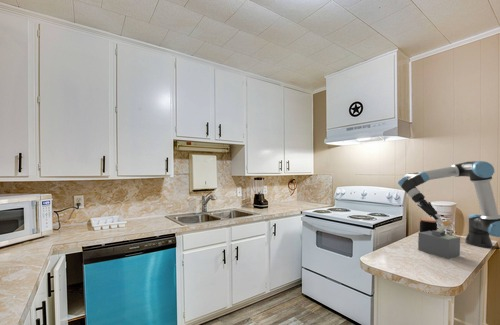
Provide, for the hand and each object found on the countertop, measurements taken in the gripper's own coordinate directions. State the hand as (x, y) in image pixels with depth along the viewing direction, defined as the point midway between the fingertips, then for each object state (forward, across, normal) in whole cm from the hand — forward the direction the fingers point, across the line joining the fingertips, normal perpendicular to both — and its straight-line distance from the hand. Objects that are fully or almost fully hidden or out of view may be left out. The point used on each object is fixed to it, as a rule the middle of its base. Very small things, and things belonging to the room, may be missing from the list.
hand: (441, 223), depth 163 cm
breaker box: (+13, 0, -16) cm, 20 cm away
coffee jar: (+3, -17, -26) cm, 31 cm away
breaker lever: (+3, 0, -7) cm, 8 cm away
